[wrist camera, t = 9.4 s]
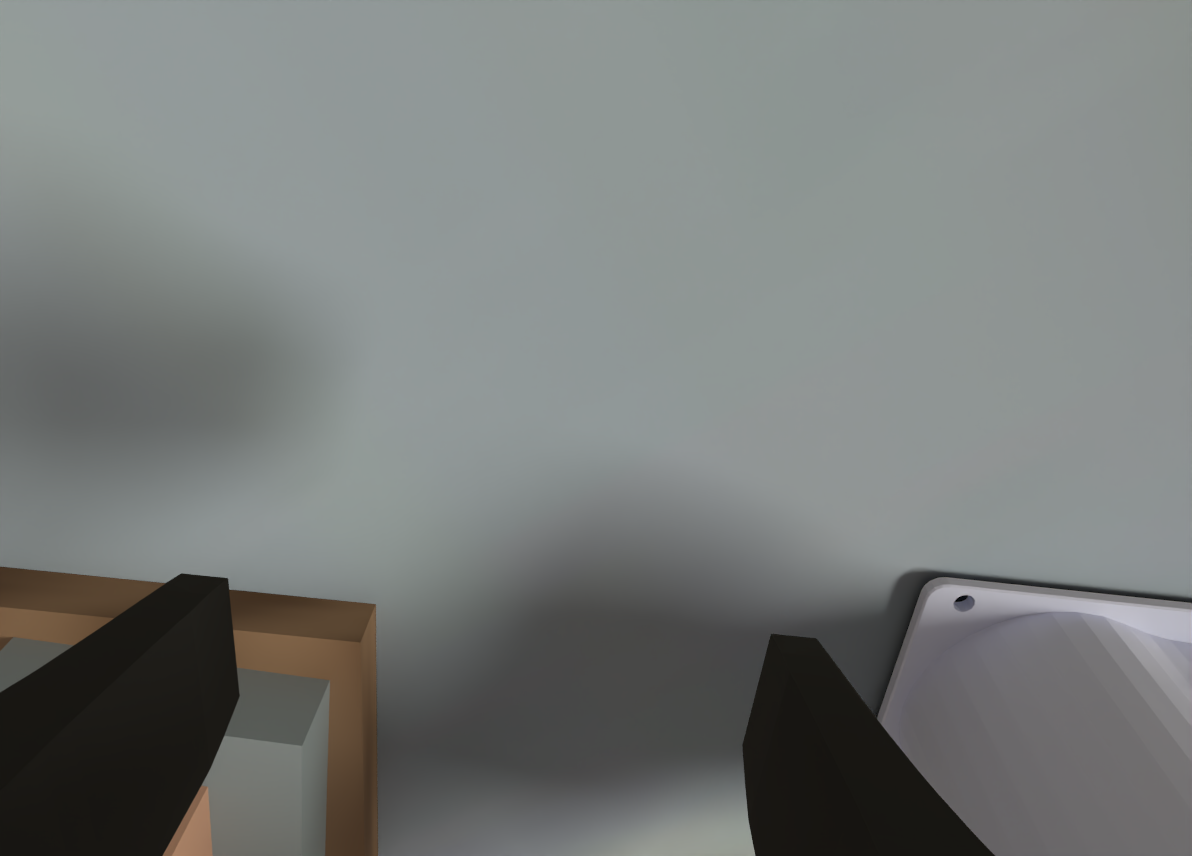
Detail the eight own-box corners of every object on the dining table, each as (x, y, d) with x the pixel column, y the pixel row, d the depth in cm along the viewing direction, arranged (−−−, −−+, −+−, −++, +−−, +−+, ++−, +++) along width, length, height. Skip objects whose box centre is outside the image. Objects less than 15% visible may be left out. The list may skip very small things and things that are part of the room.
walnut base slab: (382, 589, 24) (360, 642, 22) (383, 835, 28) (365, 898, 26) (13, 551, 23) (-44, 602, 21) (73, 806, 28) (31, 868, 26)
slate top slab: (330, 679, 22) (302, 746, 20) (324, 880, 26) (300, 953, 24) (13, 636, 22) (-47, 699, 20) (52, 847, 25) (4, 918, 23)
